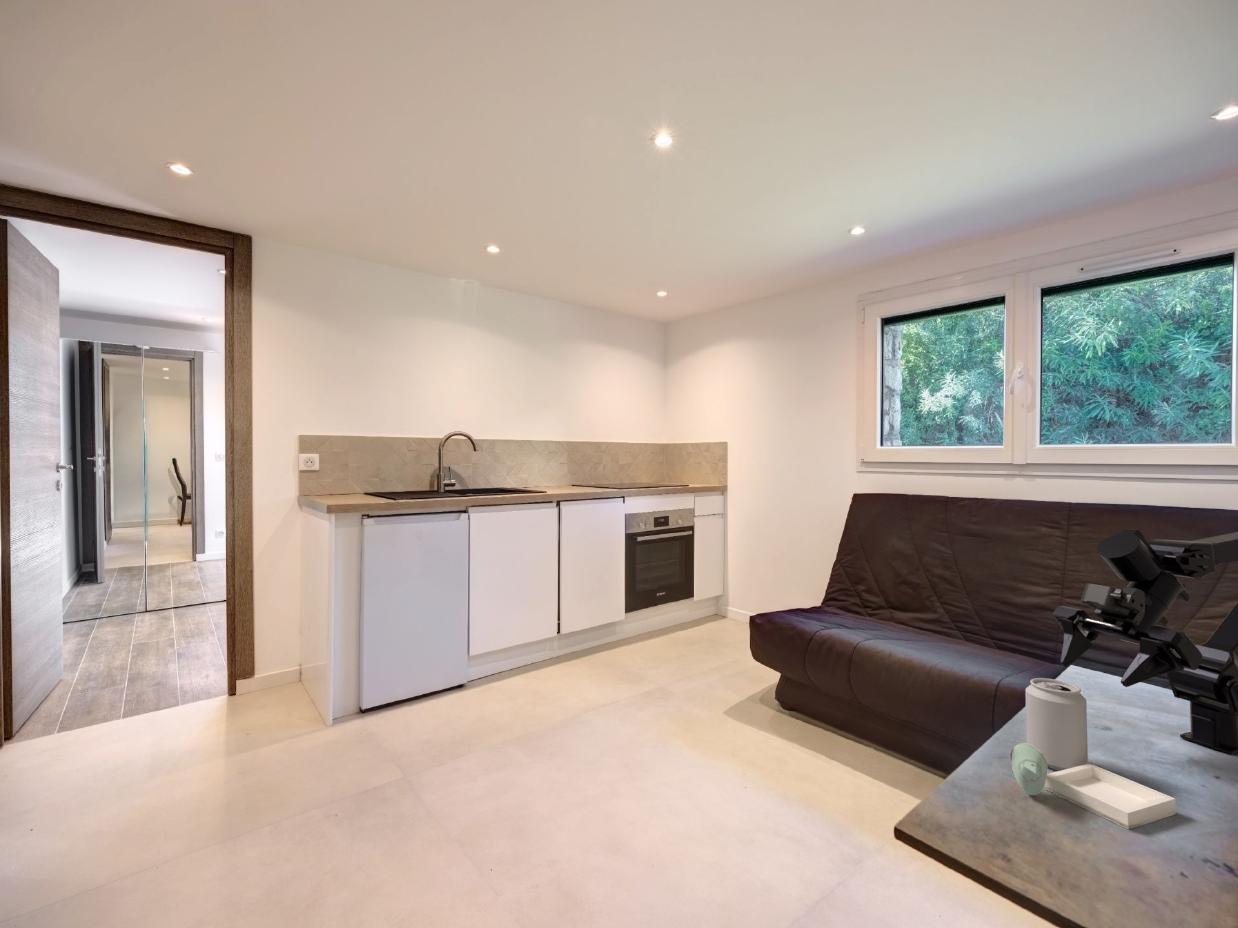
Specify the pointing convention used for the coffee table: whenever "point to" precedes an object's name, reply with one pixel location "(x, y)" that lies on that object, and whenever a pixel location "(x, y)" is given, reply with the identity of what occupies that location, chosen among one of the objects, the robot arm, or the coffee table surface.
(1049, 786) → the tray
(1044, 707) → the can
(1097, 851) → the coffee table surface
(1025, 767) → the green oval piece
